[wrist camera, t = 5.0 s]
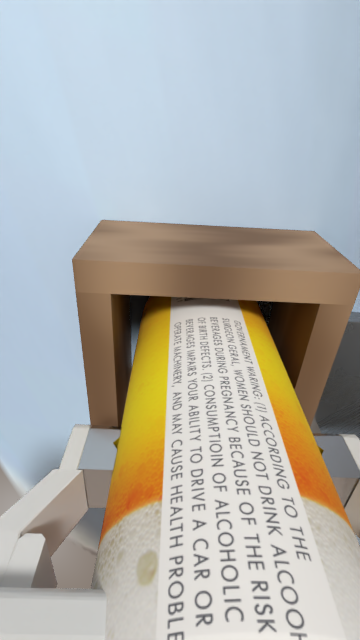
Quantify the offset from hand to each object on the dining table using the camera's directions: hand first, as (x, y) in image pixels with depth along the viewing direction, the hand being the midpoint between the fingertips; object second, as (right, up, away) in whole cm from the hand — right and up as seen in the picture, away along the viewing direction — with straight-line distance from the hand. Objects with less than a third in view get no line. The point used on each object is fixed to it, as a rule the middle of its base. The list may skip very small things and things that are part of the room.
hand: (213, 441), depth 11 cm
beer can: (0, +4, +7) cm, 8 cm away
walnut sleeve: (0, +4, +7) cm, 8 cm away
